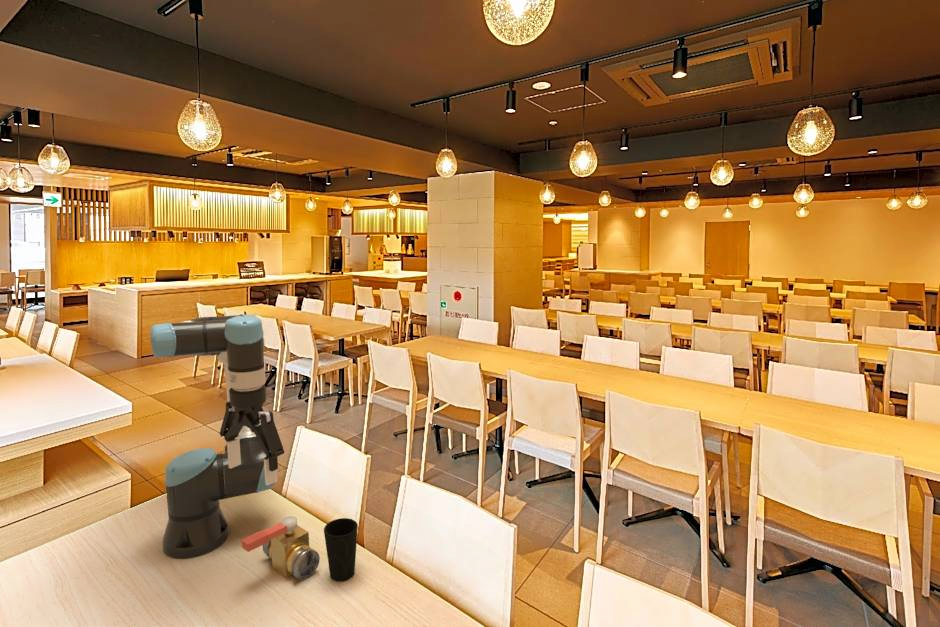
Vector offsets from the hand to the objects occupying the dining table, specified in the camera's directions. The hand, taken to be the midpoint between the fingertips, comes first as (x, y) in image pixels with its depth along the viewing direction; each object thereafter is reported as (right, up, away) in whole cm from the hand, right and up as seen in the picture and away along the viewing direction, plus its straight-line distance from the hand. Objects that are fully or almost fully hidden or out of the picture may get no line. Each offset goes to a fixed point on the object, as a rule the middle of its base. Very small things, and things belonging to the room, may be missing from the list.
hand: (252, 474), depth 118 cm
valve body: (+7, -24, +6) cm, 26 cm away
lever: (+4, -15, +1) cm, 15 cm away
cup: (+20, -25, +3) cm, 32 cm away
